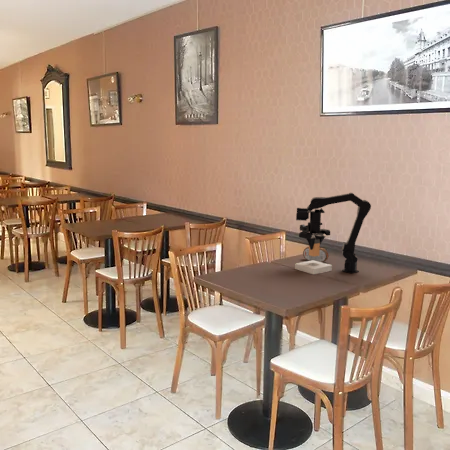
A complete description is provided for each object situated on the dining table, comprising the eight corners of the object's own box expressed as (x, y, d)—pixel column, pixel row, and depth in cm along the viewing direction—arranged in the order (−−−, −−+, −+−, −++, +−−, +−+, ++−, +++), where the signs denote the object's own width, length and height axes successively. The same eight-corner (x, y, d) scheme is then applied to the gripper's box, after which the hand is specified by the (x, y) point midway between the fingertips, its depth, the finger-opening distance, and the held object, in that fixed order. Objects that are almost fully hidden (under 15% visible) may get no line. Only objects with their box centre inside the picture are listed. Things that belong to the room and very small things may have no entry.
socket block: (313, 265, 272) (313, 260, 271) (331, 270, 260) (332, 265, 260) (295, 268, 264) (295, 263, 263) (313, 274, 252) (313, 269, 252)
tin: (328, 262, 278) (329, 248, 277) (326, 263, 276) (327, 249, 274) (304, 259, 286) (304, 245, 285) (302, 260, 284) (302, 246, 282)
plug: (313, 254, 263) (314, 238, 262) (319, 255, 260) (319, 239, 259) (308, 255, 261) (309, 238, 259) (314, 256, 258) (314, 240, 256)
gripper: (316, 217, 269) (315, 244, 272) (292, 220, 258) (291, 248, 261) (331, 220, 260) (330, 248, 263) (307, 223, 249) (306, 252, 252)
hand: (314, 249), depth 260 cm, fingers closed on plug, 4 cm apart
